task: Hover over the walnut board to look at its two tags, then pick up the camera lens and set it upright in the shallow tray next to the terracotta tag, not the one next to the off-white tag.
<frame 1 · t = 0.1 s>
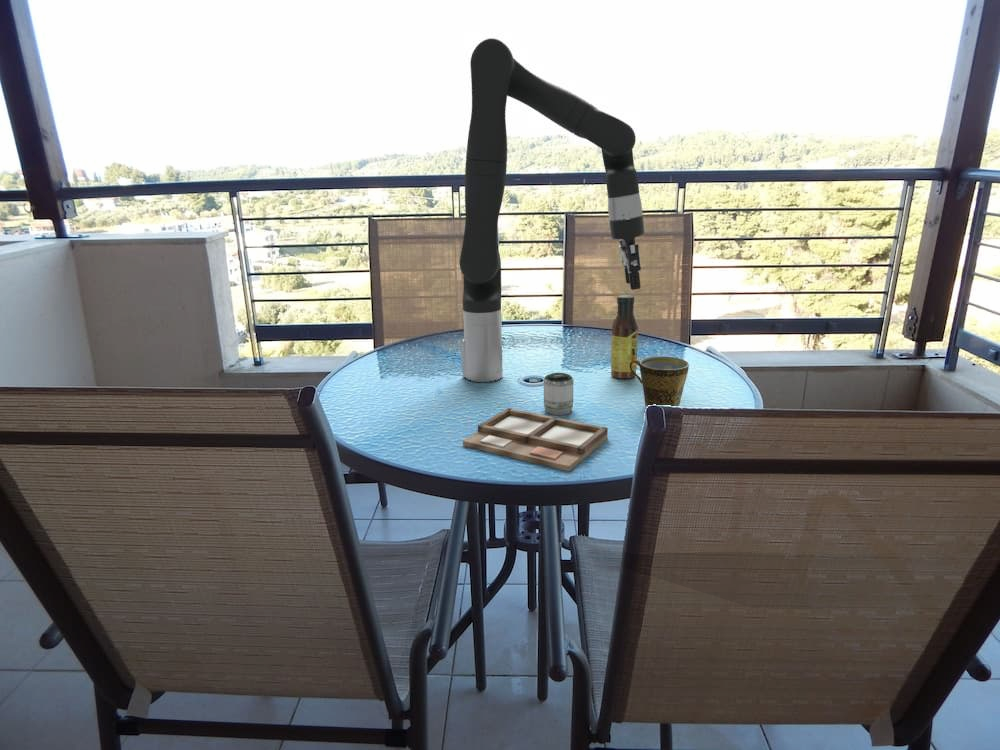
hand: (633, 286, 147), 22 cm above the table, tool pointing down, fingers open, 8 cm apart
ceramic cup: (655, 407, 134), on the table
sauce bottle: (623, 376, 154), on the table
camera lens: (558, 411, 133), on the table
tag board: (535, 442, 117), on the table
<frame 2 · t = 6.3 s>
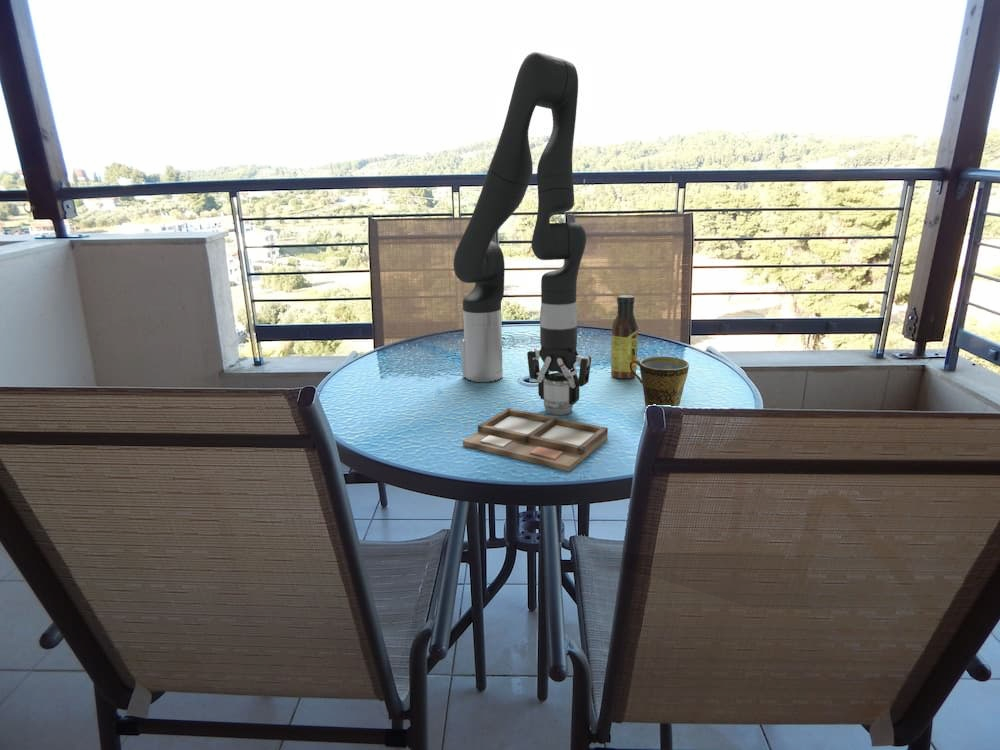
hand: (558, 400, 132), 2 cm above the table, tool pointing down, fingers closed on camera lens, 6 cm apart
camera lens: (558, 411, 133), on the table, touching gripper
everything else where it was.
when the fingers open (4 cm above the table, at t = 12.8 s): camera lens stays where it is, resting on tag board.
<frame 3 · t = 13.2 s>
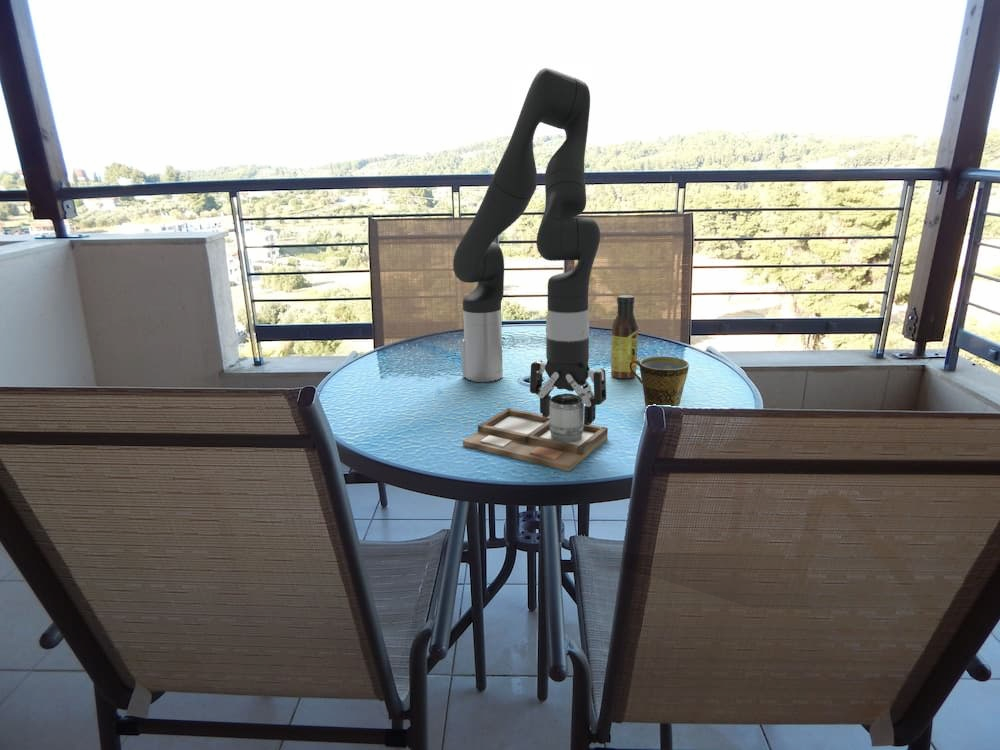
hand: (566, 419, 115), 5 cm above the table, tool pointing down, fingers open, 8 cm apart
camera lens: (566, 437, 116), point 1 cm above the table, touching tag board
everything else where it was.
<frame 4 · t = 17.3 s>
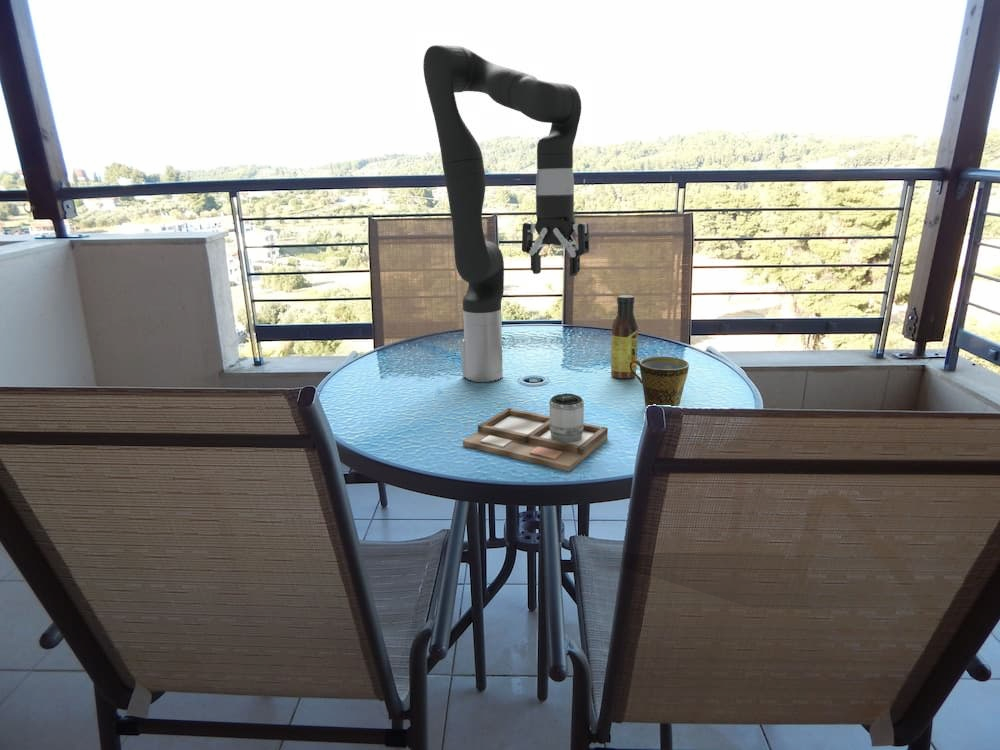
hand: (554, 274, 129), 28 cm above the table, tool pointing down, fingers open, 8 cm apart
nothing on the table moved.
at the end: camera lens 0.2 cm from the target spot on the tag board, point 1.0 cm above the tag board's base; camera lens tilted 0°; the gripper is holding nothing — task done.
